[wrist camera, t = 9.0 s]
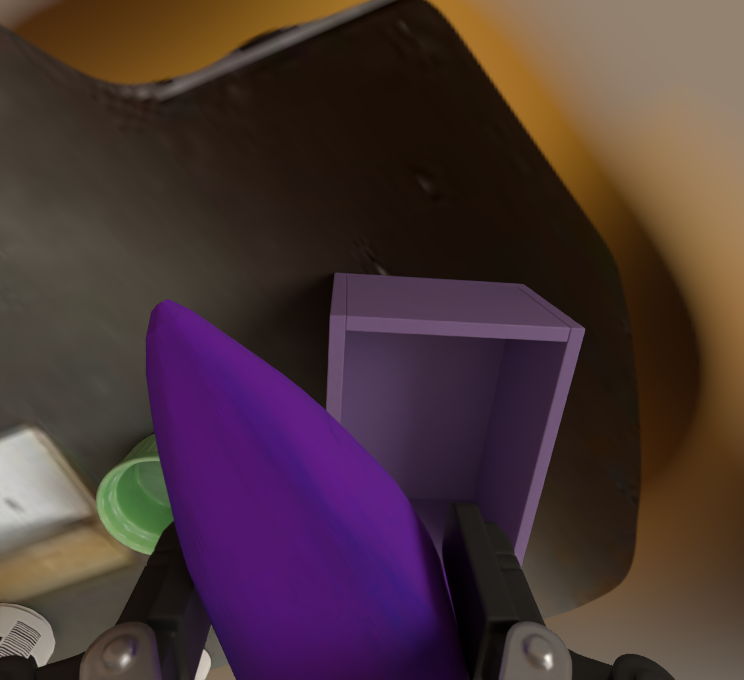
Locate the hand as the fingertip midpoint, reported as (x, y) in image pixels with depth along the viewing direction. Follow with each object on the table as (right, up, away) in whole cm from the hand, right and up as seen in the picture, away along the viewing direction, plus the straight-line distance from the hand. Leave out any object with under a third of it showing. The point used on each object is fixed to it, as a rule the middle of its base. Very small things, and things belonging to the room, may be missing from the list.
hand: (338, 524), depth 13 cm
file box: (+4, +1, +21) cm, 22 cm away
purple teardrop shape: (0, +1, +1) cm, 1 cm away
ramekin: (-14, -5, +23) cm, 27 cm away
